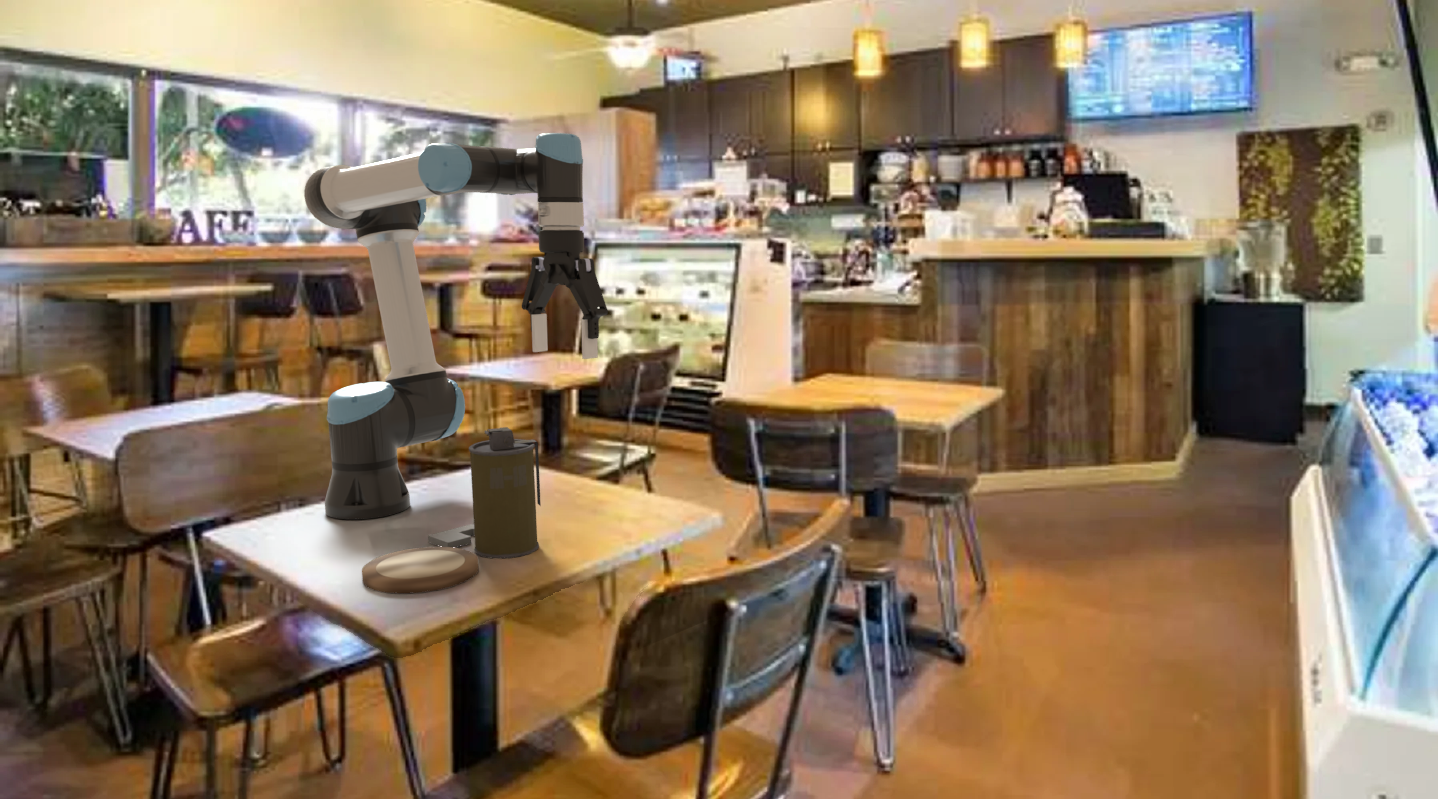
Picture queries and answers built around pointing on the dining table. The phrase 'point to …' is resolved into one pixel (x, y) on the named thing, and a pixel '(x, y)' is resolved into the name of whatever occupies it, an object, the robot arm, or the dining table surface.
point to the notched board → (453, 537)
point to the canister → (504, 495)
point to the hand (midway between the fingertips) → (564, 354)
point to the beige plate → (420, 570)
